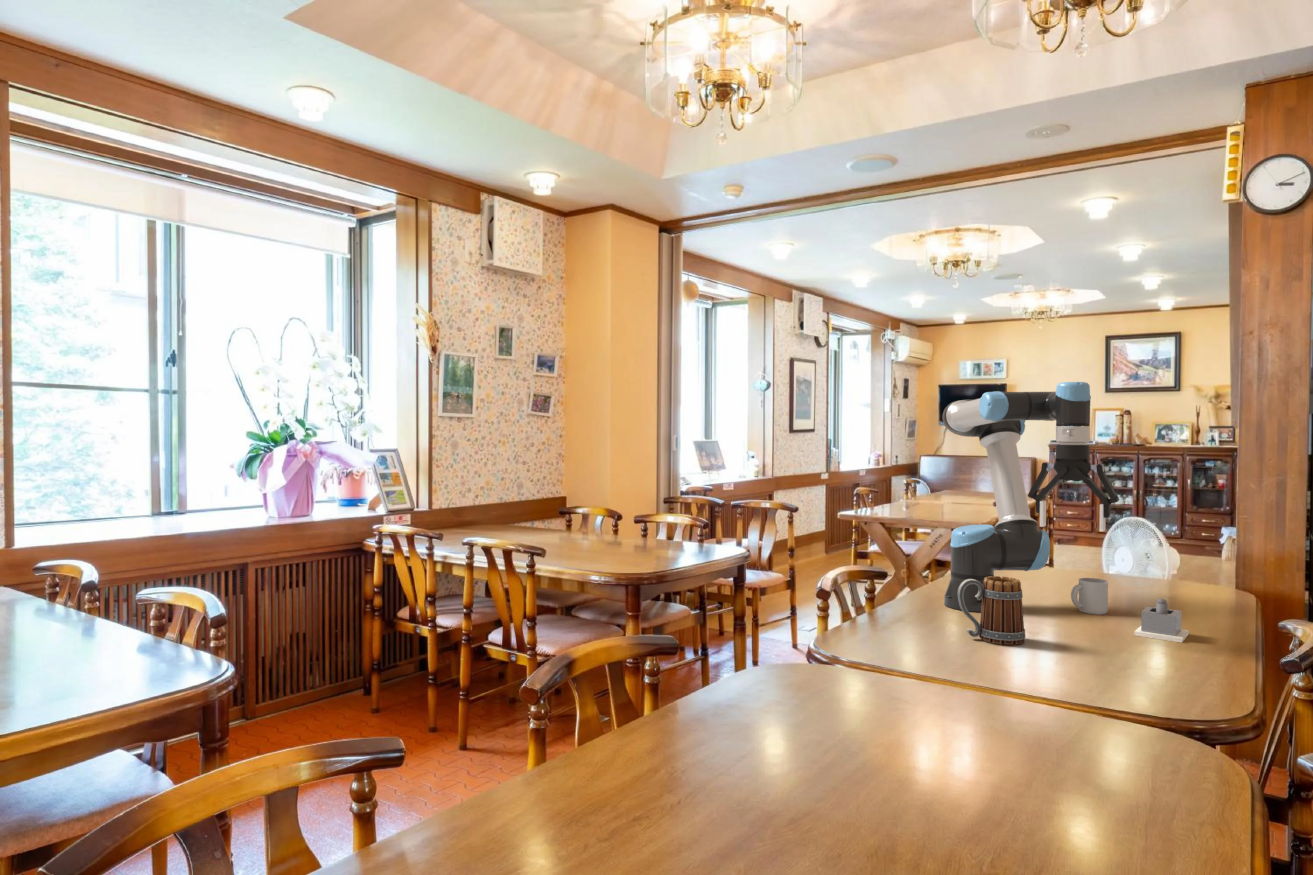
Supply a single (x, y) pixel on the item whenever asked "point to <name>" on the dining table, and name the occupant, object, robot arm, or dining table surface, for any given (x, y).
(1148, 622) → the grey square storage bin
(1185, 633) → the peg stand
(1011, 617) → the mug
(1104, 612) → the cup
